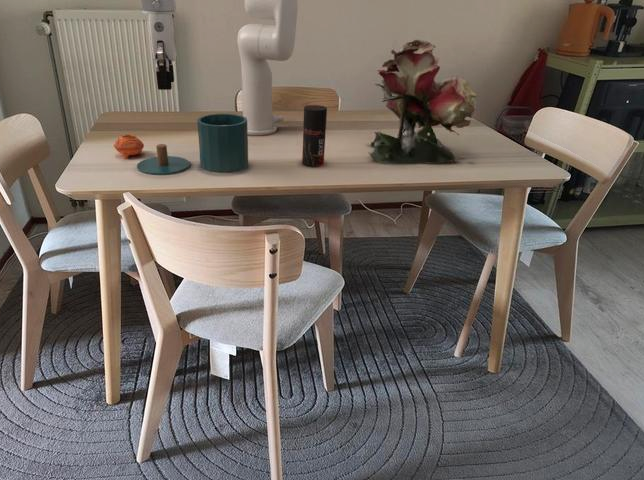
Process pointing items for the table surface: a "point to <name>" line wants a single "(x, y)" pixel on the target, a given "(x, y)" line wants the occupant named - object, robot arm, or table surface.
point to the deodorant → (314, 135)
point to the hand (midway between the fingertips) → (166, 85)
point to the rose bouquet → (420, 106)
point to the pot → (128, 145)
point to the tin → (223, 142)
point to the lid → (163, 163)
